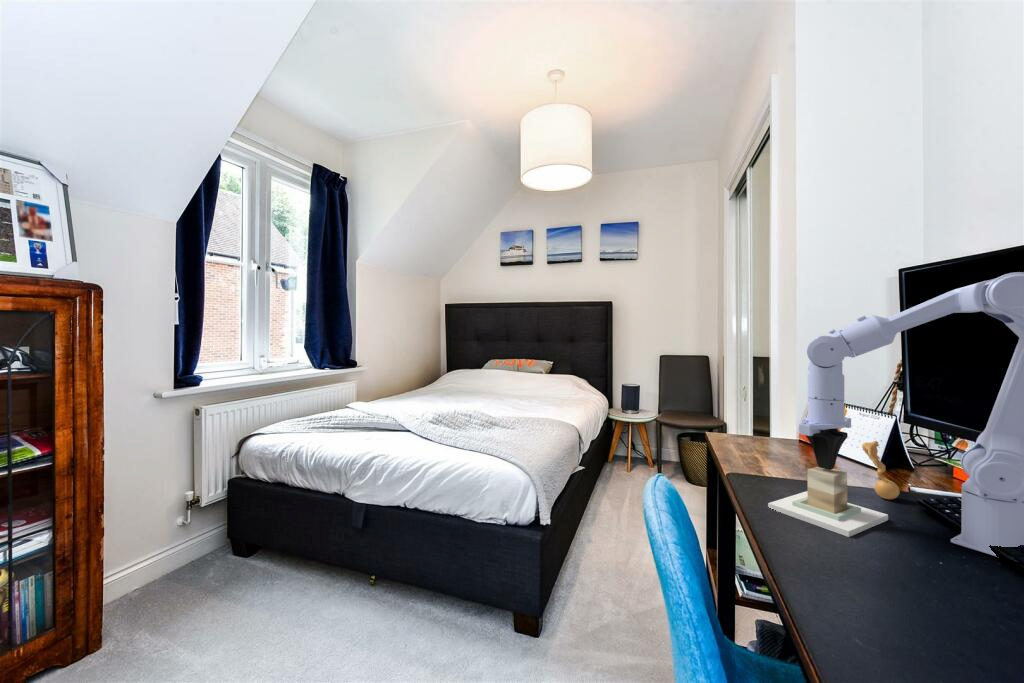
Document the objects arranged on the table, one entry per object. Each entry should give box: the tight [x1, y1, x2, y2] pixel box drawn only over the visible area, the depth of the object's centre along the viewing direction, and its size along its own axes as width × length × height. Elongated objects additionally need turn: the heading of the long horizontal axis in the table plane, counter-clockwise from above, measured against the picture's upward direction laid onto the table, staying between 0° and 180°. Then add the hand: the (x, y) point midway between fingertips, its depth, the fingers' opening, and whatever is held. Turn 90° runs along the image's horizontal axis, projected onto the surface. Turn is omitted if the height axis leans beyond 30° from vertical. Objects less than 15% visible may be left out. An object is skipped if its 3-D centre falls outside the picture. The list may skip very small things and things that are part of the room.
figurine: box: [861, 440, 900, 500], centre depth 90 cm, size 8×6×12 cm
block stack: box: [806, 466, 848, 514], centre depth 82 cm, size 5×5×8 cm
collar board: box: [767, 490, 889, 538], centre depth 83 cm, size 14×14×2 cm
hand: (825, 468), depth 83 cm, fingers closed
